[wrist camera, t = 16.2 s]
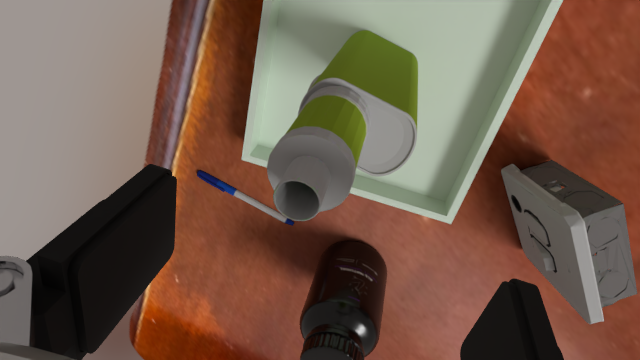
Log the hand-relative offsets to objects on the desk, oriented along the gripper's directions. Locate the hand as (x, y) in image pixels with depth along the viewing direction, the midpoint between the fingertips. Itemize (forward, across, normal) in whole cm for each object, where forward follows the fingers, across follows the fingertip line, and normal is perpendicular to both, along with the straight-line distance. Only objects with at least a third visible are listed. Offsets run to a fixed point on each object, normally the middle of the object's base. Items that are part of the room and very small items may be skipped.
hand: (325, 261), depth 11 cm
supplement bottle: (+23, -3, +20) cm, 31 cm away
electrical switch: (+23, -16, +7) cm, 29 cm away
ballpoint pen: (+23, +9, +16) cm, 30 cm away
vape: (+22, 0, 0) cm, 22 cm away
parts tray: (+23, 0, 0) cm, 23 cm away
